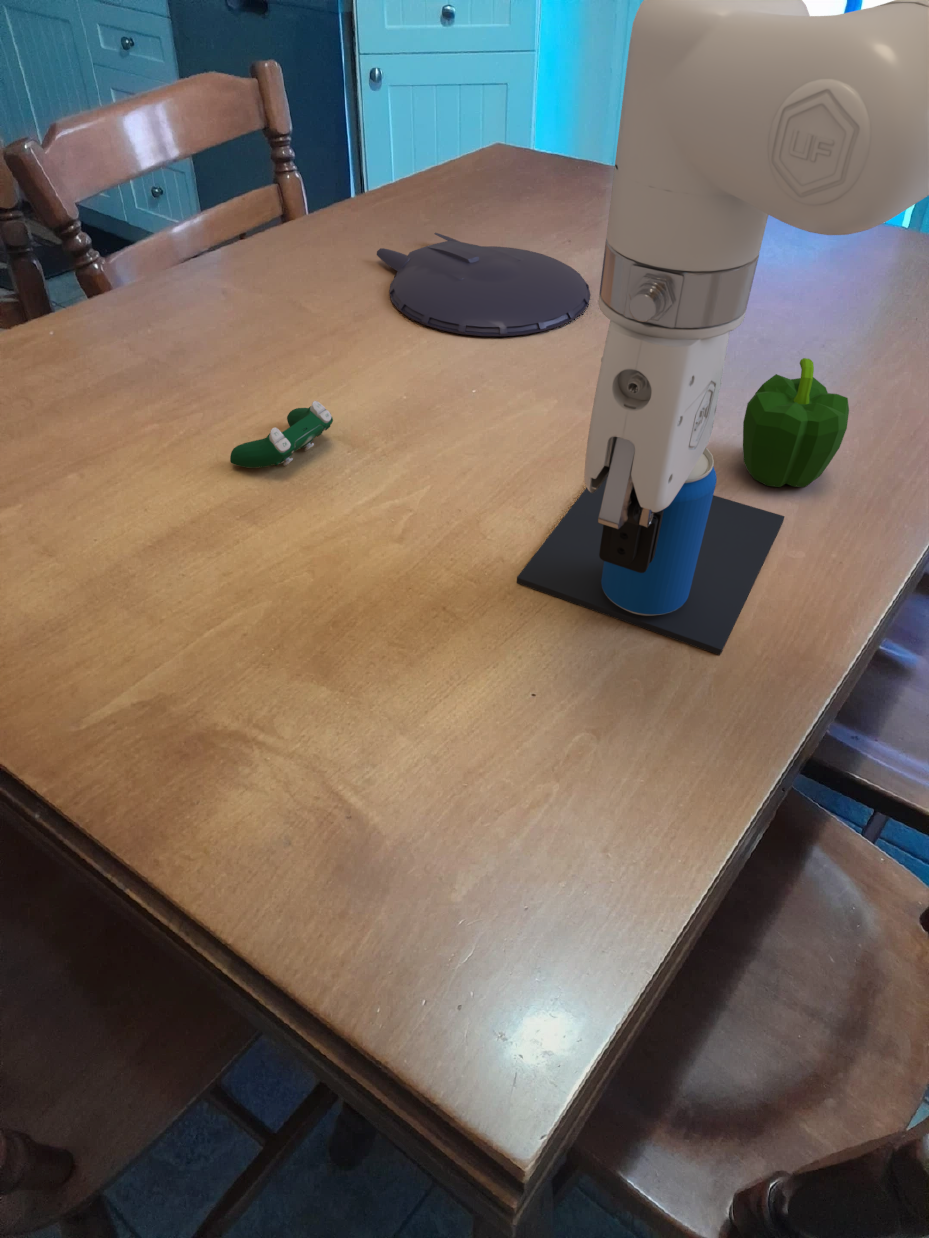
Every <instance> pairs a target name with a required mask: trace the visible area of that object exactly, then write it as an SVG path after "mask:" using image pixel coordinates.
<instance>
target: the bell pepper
mask: <svg viewBox="0 0 929 1238" xmlns="http://www.w3.org/2000/svg"><path fill="white" fill-rule="evenodd" d="M799 365H800V369H801V372H800V377H798V378H788V377H785V376H782V375H780V374H777V373H775V374H774V375H773V376H771V377H770V378H769V379H767V380H766V381H765V382H764V383H762V384H761V385H760V387H759V388H758V389H757V391H756V392H755V393H754V394H753V396H752V397H751V398H750V400H749V401H748V402H747V404H746V409H745V413H744V416H743V417H744V418H743V423H742V426H743V427H742V455H743V463H744V466H745V468H746V471H747V472H748V473H749V474H750V476H751V477H752V479H754V480H755V481H757V482H759V483H761V484H763V485H765V486H767V487H775V488H781V487H782V486H785V485H788V486H791V487H794V488H795V487H796V488H806V487H808V486H809V485H810V484H812V482H815V480H817V479H818V478H819V477H820V476H822V474H823V473H824V471H826V469H827V467H828V466H829V465H830V463H831V461H832V460H833V459H834V457H835V455H836V454H837V452H838V451H839V449H840V447H841V445H842V442H843V440H844V437H845V434H846V431H847V429H848V422H849V416H850V415H849V414H850V407H849V398H848V397H846V396H844V395H841V394H838V393H829V392H828V390H827V387H826V386H825V385H824V384H822V383H821V382H820V381H819V380H818V379H816V377H814V372H815V366H814V361H813V360H812V359H811V358H806V357H803V358H801V359H800V361H799Z"/></svg>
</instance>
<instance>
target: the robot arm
mask: <svg viewBox="0 0 929 1238" xmlns="http://www.w3.org/2000/svg"><path fill="white" fill-rule="evenodd" d="M622 93H623V94H622V101H621V102H622V103H621V104H622V105H621V110H620V119H619V127H618V136H617V145H616V153H615V160H614V169H613V177H612V186H611V194H610V201H609V202H610V203H609V209H608V211H609V212H608V218H607V219H608V220H607V228H606V235H605V237H606V238H605V244H604V251H603V252H604V253H603V261H602V267H601V268H602V270H601V276H600V277H601V278H600V286H599V293H598V300H597V301H598V302H597V304H598V308H599V310H600V312H601V313H602V314H603V315H604V316H605V317H606V318H607V319H608V320H609V324H608V329H607V334H606V338H605V342H604V347H603V351H602V355H601V358H600V367H599V370H598V371H599V372H598V377H597V382H596V388H595V393H594V398H593V404H592V410H591V416H590V421H589V428H588V434H587V441H586V449H585V460H584V474H583V475H584V476H583V477H584V484H585V488H587V489H588V490H589V491H590V492H591V493H593V492H595V491H596V490H597V489H598V488H599V487H600V486H601V484H602V483H603V482H604V480H605V479H606V478H607V476H608V478H607V482H606V486H605V491H604V495H603V500H602V504H601V509H600V513H599V518H598V523H600V524H603V532H602V538H601V545H600V552H599V557H600V558H601V559H602V560H603V561H606V562H609V563H612V564H615V565H618V566H621V567H624V568H627V569H630V570H633V571H636V572H639V573H644V572H645V571H646V570H647V568H648V566H649V563H651V562H652V560H653V558H654V556H655V551H656V546H657V542H658V537H659V532H660V527H661V522H662V517H663V512H664V511H663V509H665V508H666V507H668V506H669V505H670V504H671V502H672V501H673V499H674V498H675V496H676V495H677V493H678V492H679V490H680V489H681V487H682V486H683V484H684V483H685V481H686V479H687V478H688V476H689V475H690V473H691V471H692V470H693V468H694V467H695V465H696V463H697V462H698V460H699V458H700V457H701V455H702V453H703V452H704V450H705V448H707V446H708V444H709V443H710V442H709V441H710V439H711V437H712V433H713V429H714V424H715V417H716V412H717V407H718V401H719V395H720V392H721V391H720V390H721V385H722V379H723V374H724V368H725V364H726V358H727V352H728V346H729V341H730V333H731V332H732V331H735V330H736V329H737V328H739V327H740V326H741V325H742V324H743V322H744V320H745V318H746V313H747V309H748V304H749V300H750V295H751V291H752V287H753V283H754V280H755V275H756V274H755V273H756V271H757V266H758V262H759V257H760V251H761V249H762V244H763V240H764V236H765V231H766V227H767V223H768V219H769V216H770V217H772V218H774V219H775V220H778V221H780V222H782V223H784V224H787V225H788V226H790V227H793V228H796V229H798V230H801V231H804V232H807V233H812V234H817V235H823V236H848V235H852V234H857V233H862V232H865V231H869V230H871V229H873V228H876V227H878V226H880V225H882V224H884V223H886V222H888V221H890V220H892V219H894V218H895V217H896V216H899V215H900V214H901V213H903V212H905V211H906V210H908V209H909V208H912V207H913V206H914V205H916V204H917V203H919V202H921V201H922V200H924V199H925V198H927V197H929V0H891V1H888V2H885V3H882V4H879V5H876V6H872V7H867V8H862V9H858V10H854V11H849V12H844V13H840V14H834V15H833V14H832V15H810V12H809V9H808V7H807V5H806V3H805V2H804V1H803V0H642V1H641V3H640V4H639V6H638V8H637V11H636V13H635V16H634V18H633V21H632V26H631V31H630V38H629V43H628V52H627V61H626V69H625V77H624V86H623V92H622Z"/></svg>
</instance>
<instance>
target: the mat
mask: <svg viewBox="0 0 929 1238" xmlns="http://www.w3.org/2000/svg"><path fill="white" fill-rule="evenodd" d="M607 478H608V476H607ZM607 478H606V479H605V480H604V482H603V483H602V484H601V486H600V487H599V488H598V489H597V490H596V491H595V492H593V493H591V492H590V491H589V490H588V489H587V487H585V489H584V490H583V491H582V492H581V494H580V495H579V497H577V499H576V501H575V502H574V503H573V504H572V506H570V508H569V510H567V512H566V513H565V515H564V516H563V517H562V519H561V520H560V521H559V522H558V524H557V525H556V526H555V527H554V529H553V530H552V531H551V532H550V534H549V535H548V536H547V537H546V539H545V540H544V541H543V543H542V544H541V545H540V547H539V548H538V549H537V551H536V552H535V553H534V555H532V557H531V559H530V560H529V561H528V562H527V564H526V565H525V566H524V567H523V569H522V570H521V571H520V573H519V574H518V575H517V576H516V584H519V585H521V586H524V587H527V588H530V589H533V590H534V591H539V592H541V593H544V594H547V595H548V596H549V595H550V596H552V597H555V598H557V599H559V600H564V601H566V602H569V603H572V604H574V605H578V606H580V607H583V608H586V609H589V610H592V611H594V612H597V613H600V614H603V615H606V616H608V617H611V618H613V619H617V620H619V621H622V622H626V623H627V624H630V625H634V626H637V627H638V628H639V627H640V628H641V629H644V630H648V631H650V632H652V633H653V632H654V633H656V634H659V635H662V636H665V637H667V638H669V639H672V640H676V641H678V642H681V643H684V644H686V645H688V646H689V645H690V646H692V647H695V648H698V649H700V650H704V651H707V652H709V653H712V654H715V655H717V656H721V655H722V653H723V651H724V648H725V646H726V644H727V642H728V640H729V638H730V635H731V633H732V631H733V629H734V627H735V625H736V622H737V621H738V619H739V616H740V614H741V612H742V611H743V608H744V605H745V604H746V601H747V599H748V598H749V595H750V593H751V591H752V589H753V587H754V585H755V582H756V580H757V578H758V576H759V574H760V572H761V569H762V567H763V565H764V563H765V561H766V559H767V557H768V555H769V552H770V551H771V548H772V546H773V544H774V542H775V540H776V538H777V536H778V534H779V531H780V529H781V527H782V525H783V523H784V521H785V516H784V515H782V514H778V513H775V512H772V511H768V510H765V509H761V508H758V507H755V506H751V505H748V504H745V503H741V502H738V501H734V500H731V499H728V498H724V497H722V496H721V497H720V496H718V495H714V494H713V498H712V502H711V506H710V510H709V515H708V519H707V523H706V527H705V531H704V535H703V539H702V543H701V547H700V551H699V555H698V559H697V564H696V568H695V572H694V576H693V580H692V584H691V588H690V592H689V596H688V598H687V600H686V602H685V603H684V604H683V605H682V606H681V607H680V608H678V609H677V610H675V611H672V612H670V613H666V614H661V615H654V616H644V615H637V614H634V613H631V612H628V611H626V610H624V609H623V608H621V607H619V606H617V605H616V604H615V603H613V602H612V601H611V600H610V599H609V598H608V597H607V596H606V594H605V593H604V591H603V588H602V584H601V579H602V573H603V566H604V561H603V560H602V559H601V558H600V557H599V552H600V545H601V538H602V532H603V524H600V523H598V518H599V513H600V509H601V504H602V500H603V495H604V491H605V486H606V482H607Z"/></svg>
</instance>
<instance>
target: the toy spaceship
mask: <svg viewBox="0 0 929 1238" xmlns="http://www.w3.org/2000/svg"><path fill="white" fill-rule="evenodd" d="M434 235H436V236H437V237H439V238H441V239H443V240H444V241H441V242H437V243H433V244H430V245H429V244H428V245H426V246H423V247H421V248H417V249H414V250H412V251H410V252H409V253H408V254H405V253H403V252H399V251H396V250H393V249H389V248H384V247H383V248H382V247H381V248H379V249H377V251H376V256H377V257H378V258H379V259H380V260H381V261H382V262H383V263H385V265H387V266H388V267H390V268H391V269H393V270H395V271H397V272H396V273H395V275H394V277H393V279H392V281H391V283H390V285H389V289H388V290H389V291H388V293H389V294H388V295H389V297H390V300H391V303H392V305H394V306H395V308H396V309H397V310H398V311H399V312H401V313H402V314H403V315H404V316H406V317H407V318H409V319H410V320H413V321H415V322H418V323H419V324H420V325H421V324H422V325H423V326H427V327H430V328H433V329H436V330H440V331H442V332H443V331H444V332H449V333H454V334H459V335H465V336H466V335H467V336H476V337H477V336H479V337H508V336H509V337H511V336H513V337H514V336H522V335H523V336H525V335H530V334H535V333H541V332H545V331H549V330H551V329H555V328H558V327H561V326H563V325H565V324H567V323H569V322H572V321H574V320H575V319H576V318H578V317H579V316H580V315H581V314H583V313H584V311H585V310H586V309H587V307H588V306H589V305H590V300H591V291H590V285H589V284H588V283H587V282H586V280H585V278H583V276H582V275H581V273H579V272H578V271H577V270H576V269H574V268H573V267H572V266H570V265H568V264H566V263H564V262H562V261H561V260H559V259H556V258H554V257H551V256H549V255H546V254H543V253H539V252H535V251H533V250H532V251H531V250H529V249H528V250H527V249H522V248H517V247H509V246H508V247H507V246H495V245H494V246H492V245H491V246H489V245H488V246H487V245H477V244H472V243H467V242H463V241H460V240H457V239H455V238H453V237H450V236H447V235H444V234H441V233H438V232H435V233H434Z"/></svg>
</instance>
